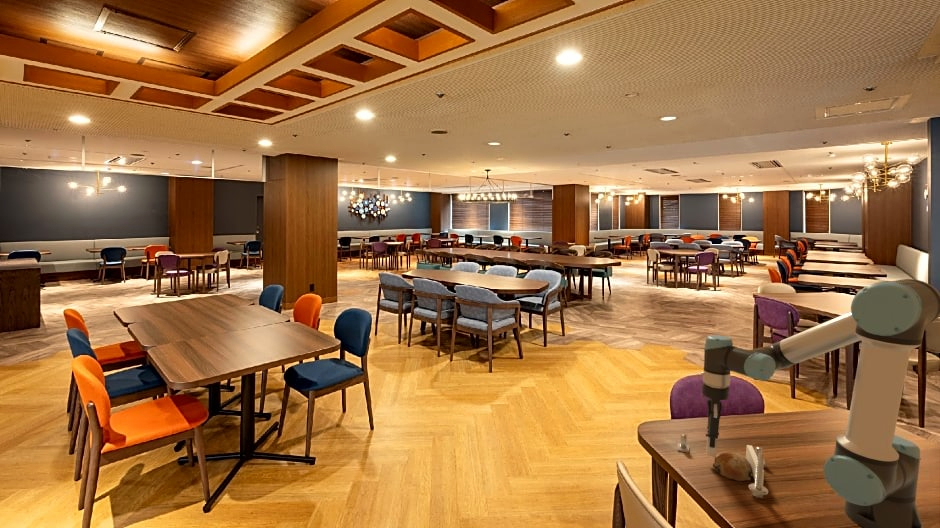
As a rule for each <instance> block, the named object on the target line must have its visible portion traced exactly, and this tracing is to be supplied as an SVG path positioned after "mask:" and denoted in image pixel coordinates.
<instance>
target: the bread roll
mask: <svg viewBox="0 0 940 528" xmlns="http://www.w3.org/2000/svg"><path fill="white" fill-rule="evenodd" d="M713 461H714V462H713V464H712V466H713V469H715V471H716V472H717V473H718V474H719V475H721V476H723V477H724V478H726V479H729V480H733V481H740V482H744V481H751V479H752V478H751V475H752V468H751V465H750V463H749V461H748V460H747V459H746V456H743V454H741V453H737V452H732V451H729V452H722V453H720V454H719V455H718V456H716V457H714V460H713Z"/></svg>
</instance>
